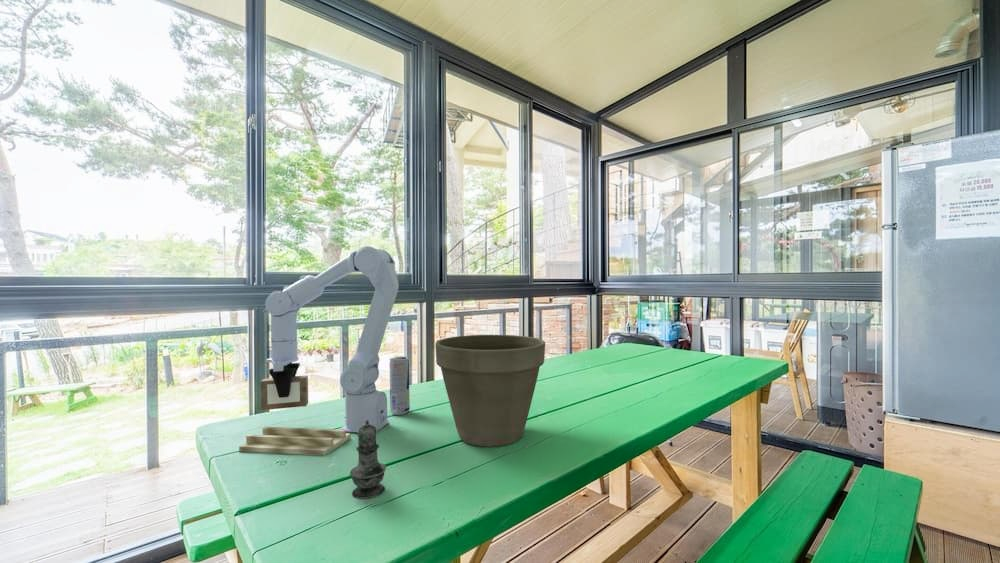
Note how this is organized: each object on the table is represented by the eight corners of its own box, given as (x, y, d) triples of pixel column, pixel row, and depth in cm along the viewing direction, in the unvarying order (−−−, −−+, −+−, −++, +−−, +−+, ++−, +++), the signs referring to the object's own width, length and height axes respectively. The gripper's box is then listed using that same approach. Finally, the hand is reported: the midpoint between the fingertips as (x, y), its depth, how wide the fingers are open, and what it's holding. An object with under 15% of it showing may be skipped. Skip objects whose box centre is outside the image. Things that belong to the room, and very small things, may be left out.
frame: (308, 402, 108) (307, 375, 108) (306, 406, 105) (305, 377, 105) (264, 406, 105) (264, 378, 105) (261, 410, 102) (260, 381, 102)
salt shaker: (355, 484, 74) (353, 415, 74) (389, 482, 75) (388, 413, 75) (345, 501, 68) (344, 426, 68) (383, 498, 69) (381, 424, 69)
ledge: (350, 437, 97) (350, 426, 97) (325, 455, 87) (325, 443, 87) (271, 434, 100) (271, 423, 100) (239, 451, 90) (239, 439, 90)
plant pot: (569, 433, 97) (567, 338, 97) (494, 469, 79) (492, 352, 79) (490, 412, 114) (489, 331, 114) (414, 437, 96) (412, 342, 96)
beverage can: (412, 410, 117) (411, 356, 117) (406, 416, 112) (405, 359, 112) (394, 410, 118) (393, 356, 118) (387, 415, 113) (386, 359, 113)
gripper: (273, 337, 111) (274, 389, 111) (258, 345, 97) (259, 404, 97) (303, 336, 113) (304, 387, 113) (291, 343, 99) (293, 401, 99)
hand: (285, 395), depth 105 cm, fingers closed on frame, 3 cm apart
